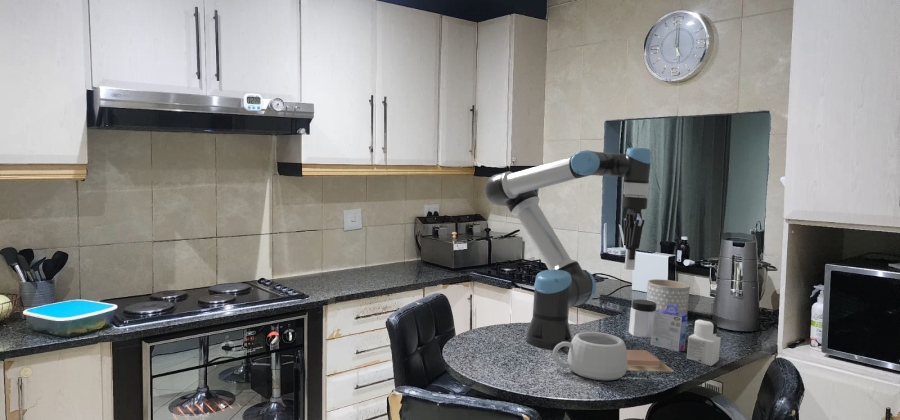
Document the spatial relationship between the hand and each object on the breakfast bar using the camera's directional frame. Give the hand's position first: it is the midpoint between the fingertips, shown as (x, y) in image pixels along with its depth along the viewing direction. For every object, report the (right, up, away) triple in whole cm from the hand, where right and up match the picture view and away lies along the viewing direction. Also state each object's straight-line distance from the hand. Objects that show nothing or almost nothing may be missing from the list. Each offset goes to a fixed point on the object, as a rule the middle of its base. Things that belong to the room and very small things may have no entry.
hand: (629, 269), depth 196 cm
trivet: (-1, -28, -10) cm, 29 cm away
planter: (+32, -24, +57) cm, 70 cm away
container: (+22, -29, -4) cm, 36 cm away
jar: (+11, -26, +21) cm, 35 cm away
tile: (-1, -26, -6) cm, 26 cm away
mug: (-18, -28, -22) cm, 40 cm away
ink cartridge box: (+15, -27, +7) cm, 32 cm away
